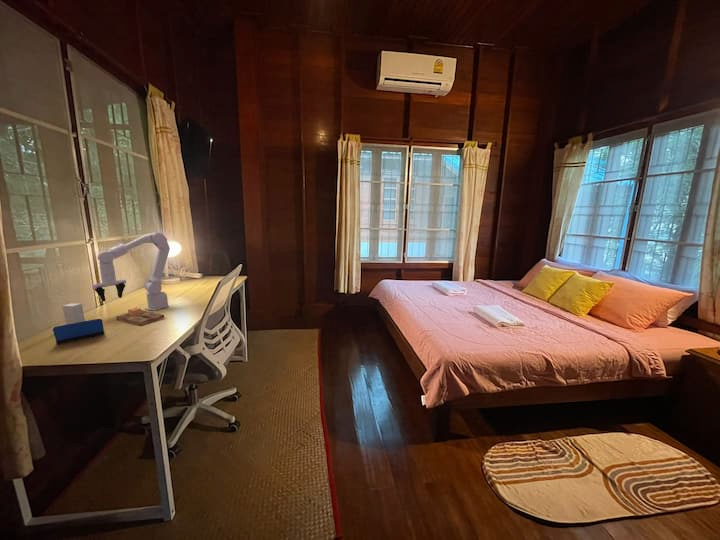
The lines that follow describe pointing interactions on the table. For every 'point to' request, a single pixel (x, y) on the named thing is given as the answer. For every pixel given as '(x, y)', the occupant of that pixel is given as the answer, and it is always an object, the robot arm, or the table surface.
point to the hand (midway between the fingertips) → (112, 299)
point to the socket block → (140, 318)
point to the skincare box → (73, 313)
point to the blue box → (78, 331)
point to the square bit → (134, 312)
